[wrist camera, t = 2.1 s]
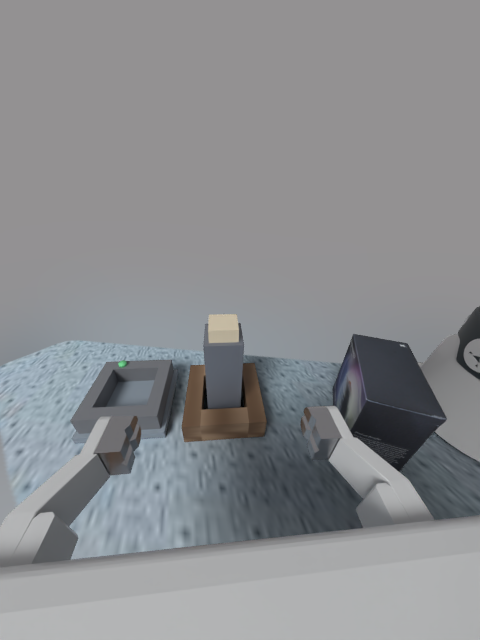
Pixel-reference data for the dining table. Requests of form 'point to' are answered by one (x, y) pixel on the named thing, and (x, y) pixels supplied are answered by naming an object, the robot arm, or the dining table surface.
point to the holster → (223, 410)
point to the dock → (129, 397)
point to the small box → (386, 398)
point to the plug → (223, 361)
